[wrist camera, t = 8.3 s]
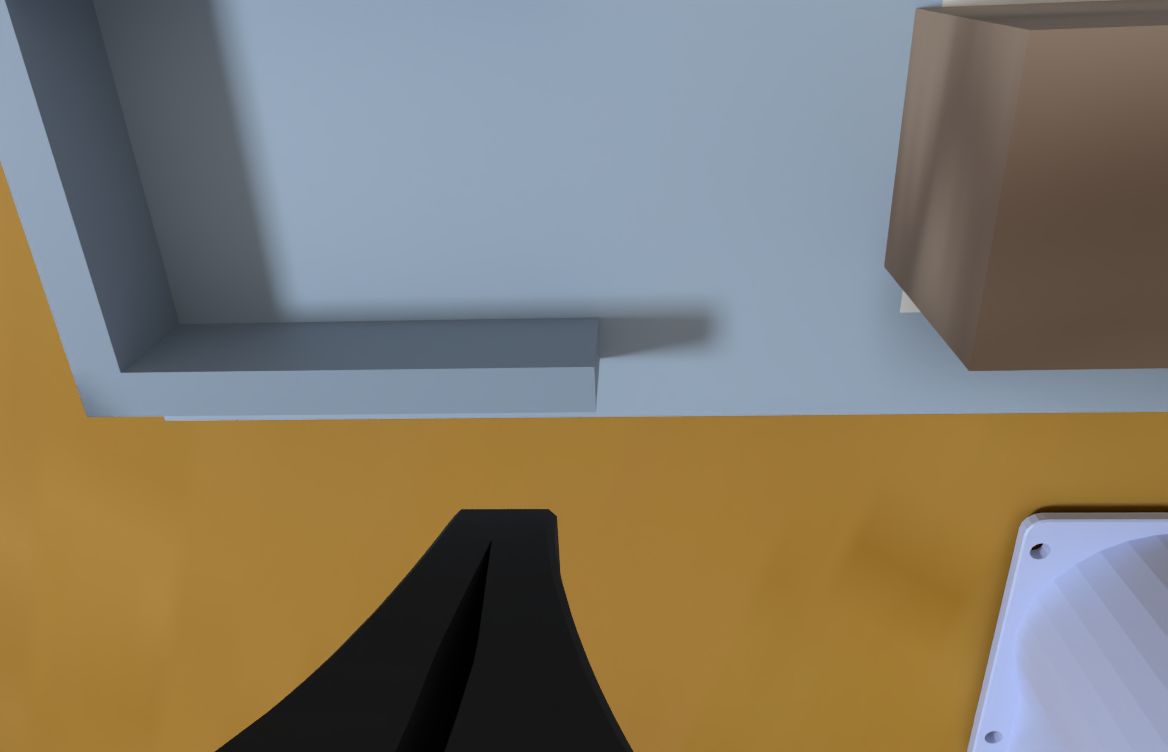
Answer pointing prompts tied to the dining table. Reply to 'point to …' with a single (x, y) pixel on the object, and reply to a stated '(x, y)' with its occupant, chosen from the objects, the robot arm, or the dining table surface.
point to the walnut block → (1037, 184)
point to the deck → (484, 210)
